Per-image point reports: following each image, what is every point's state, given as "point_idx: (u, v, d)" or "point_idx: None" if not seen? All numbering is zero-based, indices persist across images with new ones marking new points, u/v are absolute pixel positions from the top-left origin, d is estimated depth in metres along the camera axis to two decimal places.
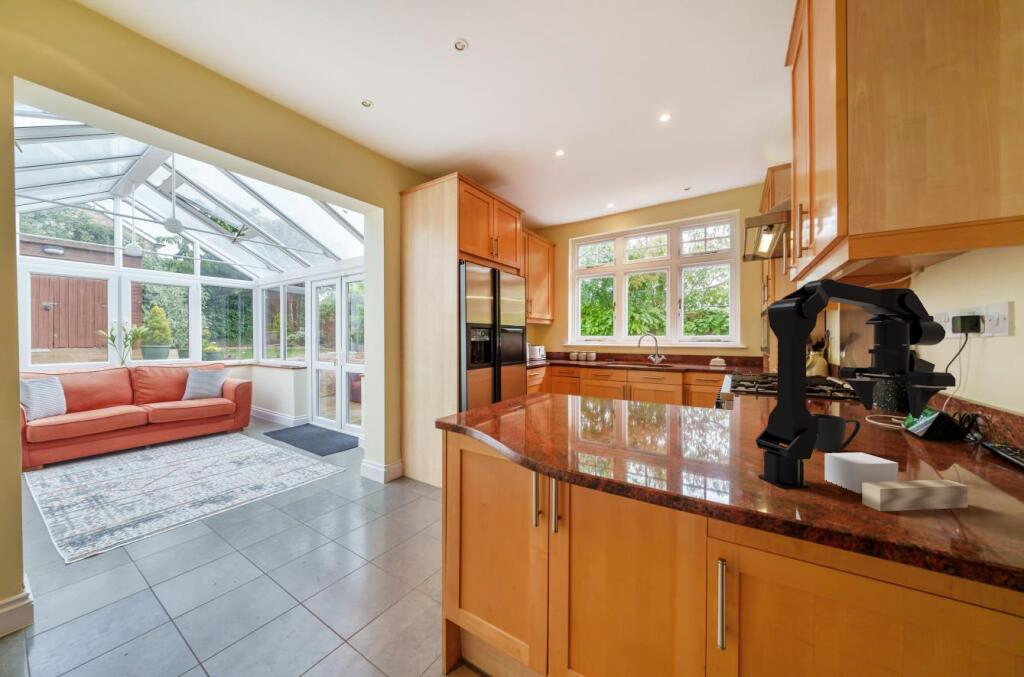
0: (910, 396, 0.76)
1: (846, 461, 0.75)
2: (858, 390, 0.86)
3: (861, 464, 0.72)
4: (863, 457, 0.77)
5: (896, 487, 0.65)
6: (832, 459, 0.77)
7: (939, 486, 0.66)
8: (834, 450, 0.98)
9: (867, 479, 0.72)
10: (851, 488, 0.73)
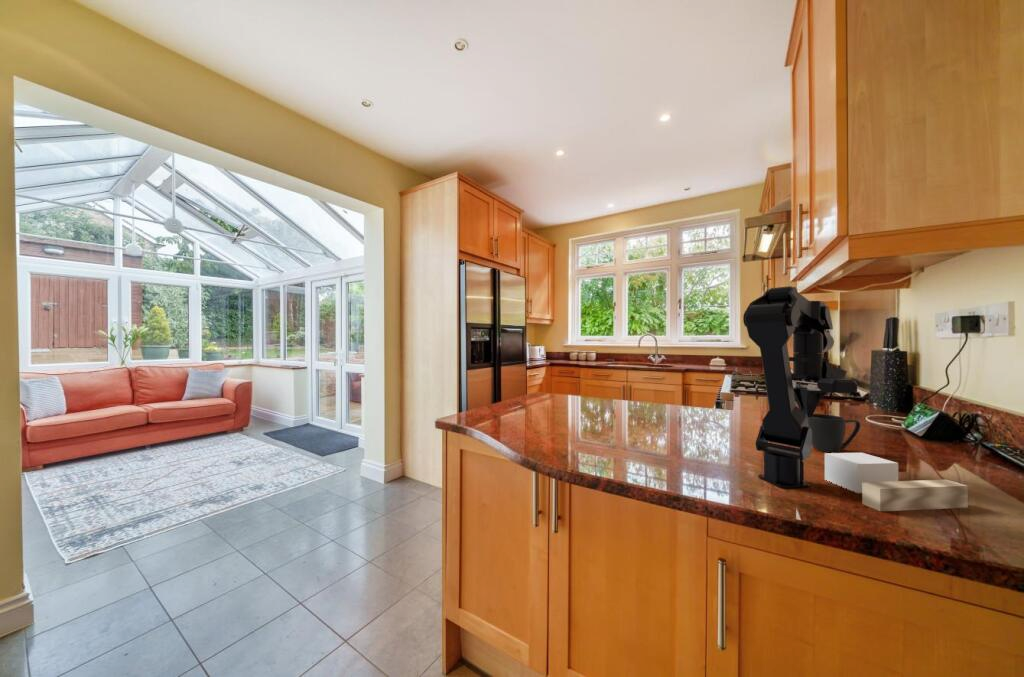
0: (803, 398, 0.87)
1: (846, 461, 0.75)
2: (796, 397, 0.89)
3: (860, 464, 0.73)
4: (863, 457, 0.76)
5: (896, 487, 0.65)
6: (832, 459, 0.77)
7: (939, 486, 0.66)
8: (834, 450, 0.98)
9: (867, 479, 0.72)
10: (850, 488, 0.74)
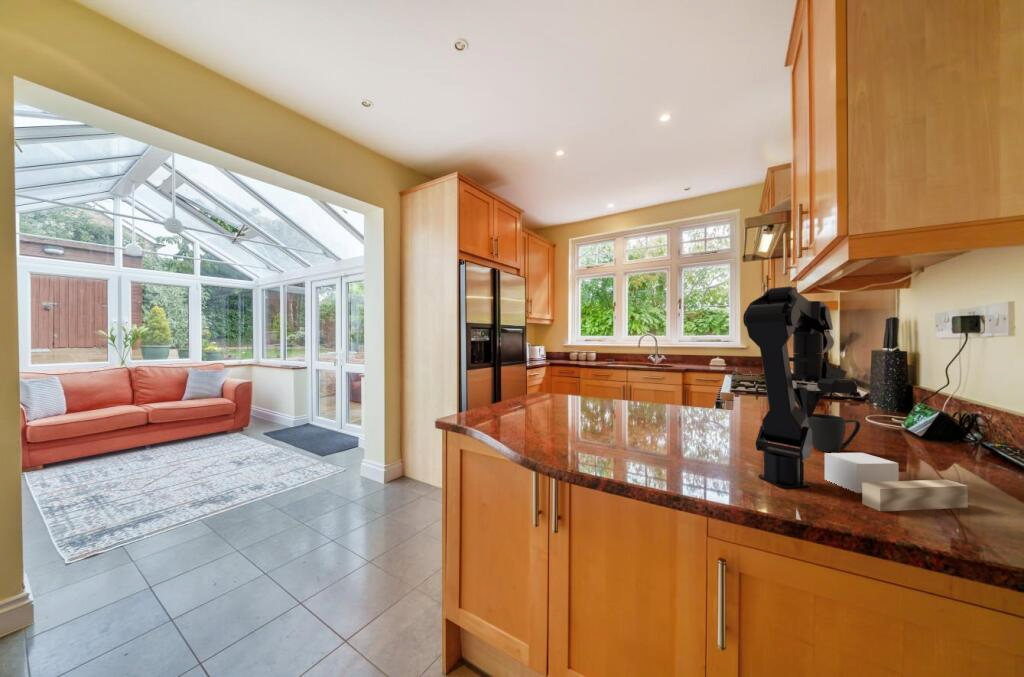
0: (802, 398, 0.87)
1: (845, 461, 0.75)
2: (796, 397, 0.89)
3: (860, 464, 0.73)
4: (863, 457, 0.76)
5: (896, 487, 0.65)
6: (832, 459, 0.78)
7: (939, 486, 0.66)
8: (834, 450, 0.98)
9: (866, 479, 0.73)
10: (850, 488, 0.74)
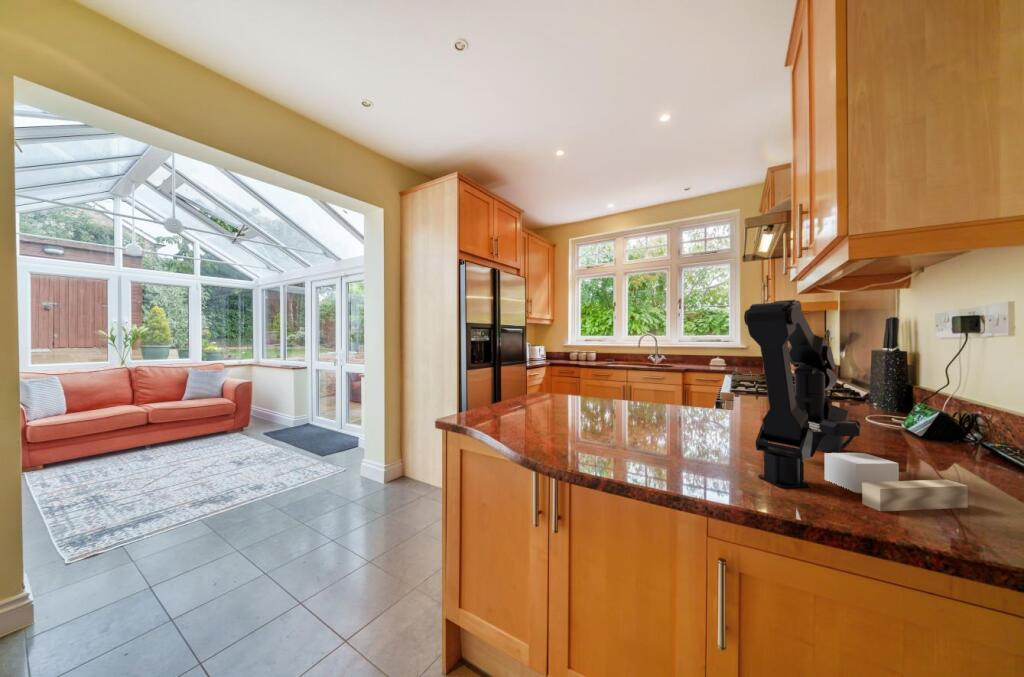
0: None
1: (845, 461, 0.75)
2: None
3: (859, 464, 0.73)
4: (863, 457, 0.76)
5: (896, 487, 0.65)
6: (832, 459, 0.78)
7: (939, 486, 0.66)
8: (834, 450, 0.98)
9: (866, 479, 0.73)
10: (850, 488, 0.74)
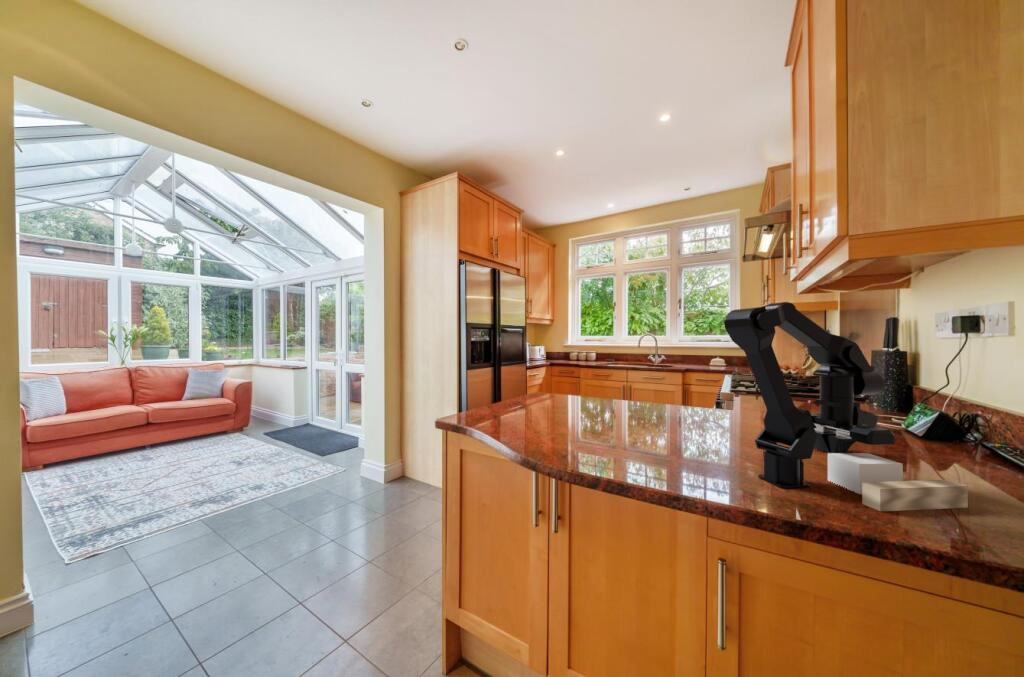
0: (831, 445, 0.80)
1: (848, 461, 0.74)
2: (824, 444, 0.82)
3: (863, 464, 0.72)
4: (867, 457, 0.76)
5: (896, 487, 0.65)
6: (835, 459, 0.77)
7: (939, 486, 0.66)
8: None
9: (869, 479, 0.72)
10: (853, 488, 0.73)
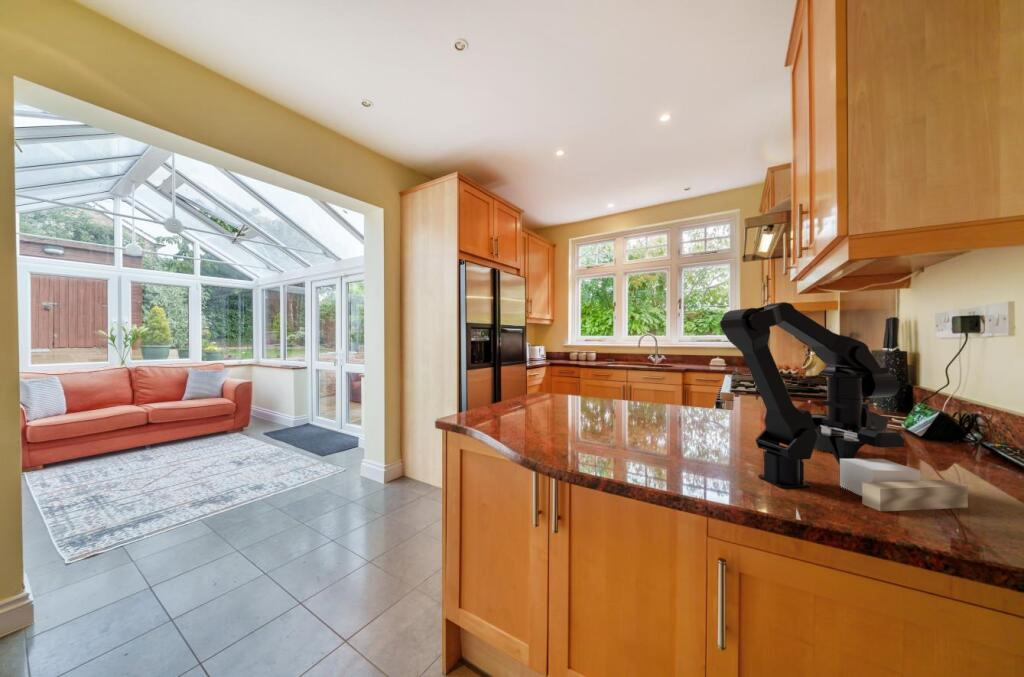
0: (839, 448, 0.78)
1: (861, 467, 0.71)
2: (831, 446, 0.80)
3: (876, 470, 0.69)
4: (882, 464, 0.72)
5: (896, 487, 0.65)
6: (847, 465, 0.74)
7: (939, 486, 0.66)
8: None
9: None
10: None
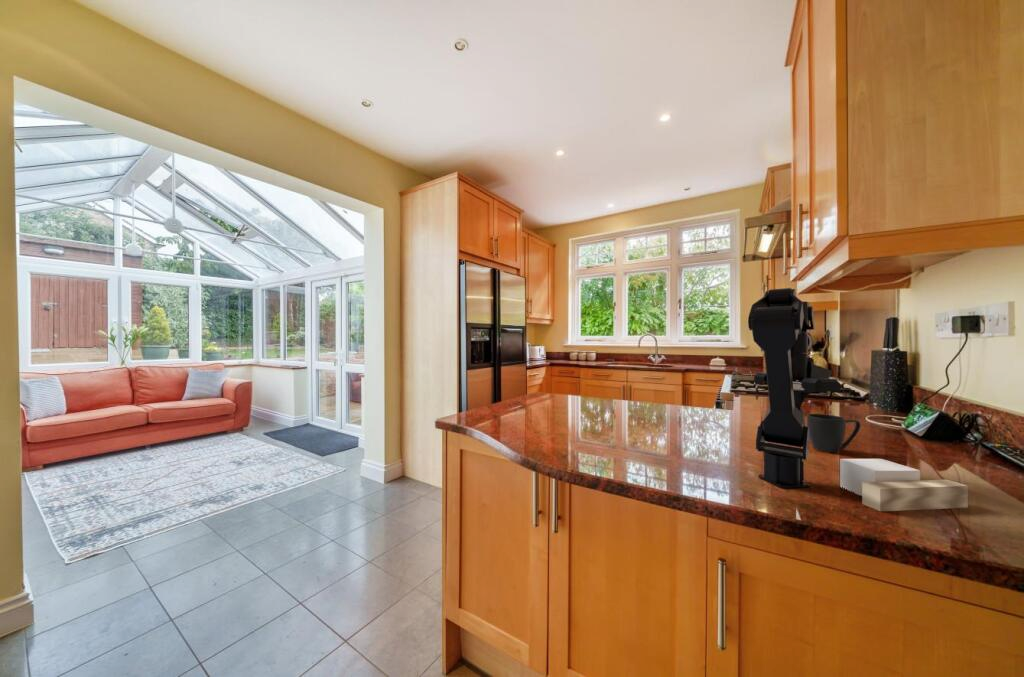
0: None
1: (862, 467, 0.71)
2: None
3: (878, 471, 0.69)
4: (882, 463, 0.72)
5: (896, 487, 0.65)
6: (848, 465, 0.74)
7: (939, 486, 0.66)
8: (834, 450, 0.98)
9: None
10: None
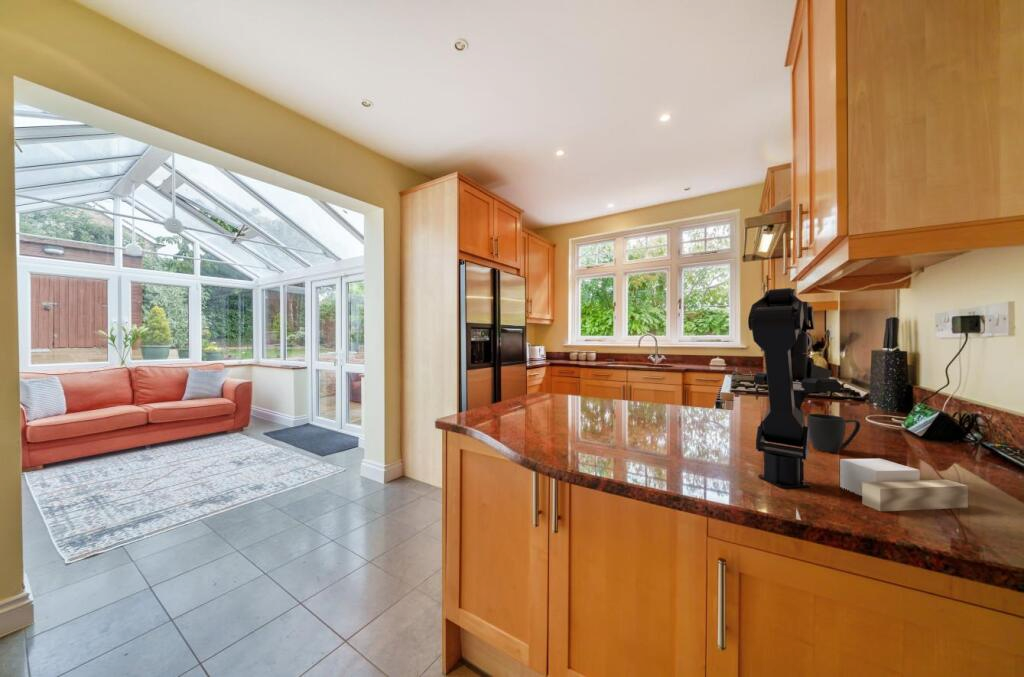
0: None
1: (863, 468, 0.71)
2: None
3: (879, 471, 0.69)
4: (881, 463, 0.72)
5: (896, 487, 0.65)
6: (848, 465, 0.74)
7: (939, 486, 0.66)
8: (834, 450, 0.98)
9: None
10: None
